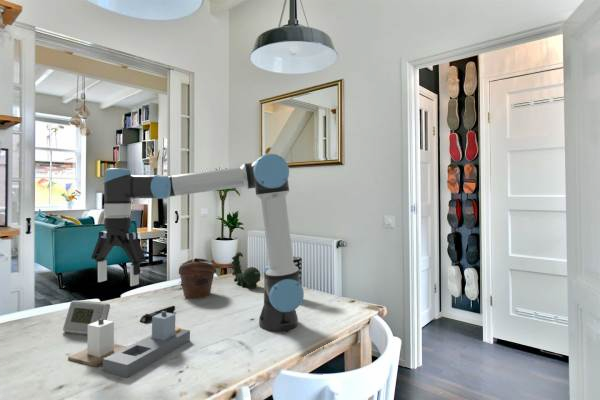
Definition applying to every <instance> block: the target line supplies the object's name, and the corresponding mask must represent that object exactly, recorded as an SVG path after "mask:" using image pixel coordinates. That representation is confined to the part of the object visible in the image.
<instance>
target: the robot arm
mask: <svg viewBox="0 0 600 400" xmlns="http://www.w3.org/2000/svg"><path fill="white" fill-rule="evenodd" d="M289 167H290V166H289V164H288V163H287V161H286V160H285V158H284V157H282V156H281V155H279V154H276V153H266V154H262V155H261V156H259V157H258V158H257V159H256V160H255V161H253V162H252V161H251V162H247V163H243V164H242V165H241V166H238V167H237V166H236V167H230V168H221V169H213V170H207V171H199V172H189V173H181V174H174V175H161V174H156V175H155V174H154V175H153V174H152V175H151V174H149V175H148V174H145V175H138V174H132V172H131V169H129V168H119V167H117V168H115V167H112V168H111V167H110V168H106V169H105V171H104V178H103V179H104V180H103V189H104V190H103V191H104V195H103V196H104V202H103V204H104V205H103V207H104V208H103V212H104V213H103V216H104V217H105V218H104V220H103V221H104V229H105V230H101V231H99V232H98V238H97V241H96V243H95V247H94V249H93V251H92V254H91V259H92V260H95V262H96V270H97V283H102V282H105V281H108V273H107V272H108V270H107V269H108V261H107V257H108V255H109V254H110V252H111V250H112V249H113V248H114V247H120V248H121V249H122V250H123V251H124V253H125V254H126V256H127V257H128V259H129V260H130V262H131V264H129V272H130V274H129V286H130V287H134V286H137V285H139V284H140V274H141V264H142V263H145V262H146V260H147V259H146V256H145V254H144V250H143V249H142V245H141V243H140V241H139V237H138V232H137V231H136V232H130V229H131V228H132V218H131V217H130V216H131V215H132V214H131V213H132V212H131V211H132V209H131V208H132V199H158V200H161V199H168V198H171V197H176V196H177V197H178V196H184V195H185V196H186V195H191V194H198V193H207V192H213V191H214V192H215V191H220V190H221V191H222V190H228V189H235V188H243V187H244V188H245V189H247V190H249V189H255V197H256V196H257V197H258V198H259V199H260V202H261V210H262V218H263V225H264V235H265V243H266V250H267V258H268V265H266V266H265V267H264V271H263V275H264V276H263V277H264V279H263V280H264V281H263V282H264V283H263V288H264V289H263V306H262V309H261V312H260V314H259V319H258V326H260V328H262V329H264V330H266V331H271V332H284V331H285V332H286V331H290V330H293V329H295V328H296V327H298V325H299V318H298V314H297V308H299V307H300V306H301V304H302V303H303V300H304V298H305V294H304V293H305V292H304V288H303V285H302V283H301V284H300V277H299V269H298V267H296V266H295V265H294V263H293V257H294V256H293V248H292V240H291V232H290V222H289V216H288V215H289V214H288V205H287V198H286V197H287V195H288V194H289V192H290V185H289V176H290V168H289Z"/></svg>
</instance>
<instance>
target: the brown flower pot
mask: <svg viewBox="0 0 600 400" xmlns="http://www.w3.org/2000/svg"><path fill="white" fill-rule="evenodd" d="M216 273H217V268H216V266H215V264H214V263H213V262H212V261H210V260H208V259H205V258H199V257H198V258H197V257H195V258H192V259H190V260H187V261H185V262H184V263H182V264H181V265H179V267H178V275H179V276H180V281H179V282H178V284H180V287H182V291H183V297H185V298H188V299H201V298H206V297H208V296H209V295H210V294H211V293H212V292H211V291H212V286H213V281H214V277H215V276H214V275H215V274H216Z"/></svg>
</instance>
